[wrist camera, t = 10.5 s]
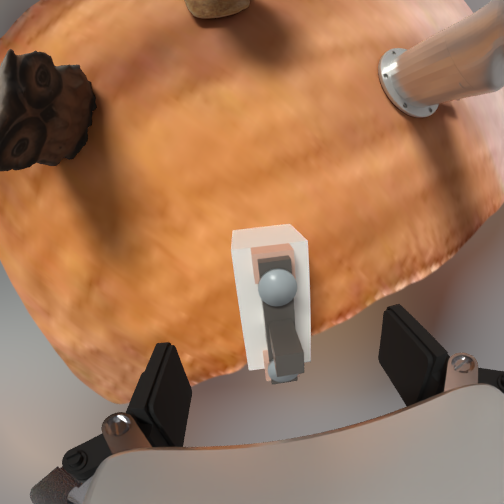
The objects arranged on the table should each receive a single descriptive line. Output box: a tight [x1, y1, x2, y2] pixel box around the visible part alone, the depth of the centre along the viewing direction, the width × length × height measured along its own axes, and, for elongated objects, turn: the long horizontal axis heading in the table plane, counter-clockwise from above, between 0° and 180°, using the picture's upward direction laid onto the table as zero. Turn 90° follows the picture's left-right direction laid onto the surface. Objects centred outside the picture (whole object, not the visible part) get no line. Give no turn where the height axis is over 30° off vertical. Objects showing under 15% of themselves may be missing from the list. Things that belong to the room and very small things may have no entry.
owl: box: [0, 49, 97, 171], centre depth 22 cm, size 13×13×20 cm
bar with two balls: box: [257, 255, 304, 384], centre depth 26 cm, size 4×15×9 cm, turn 7°
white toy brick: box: [231, 224, 311, 381], centre depth 34 cm, size 8×16×12 cm, turn 6°
